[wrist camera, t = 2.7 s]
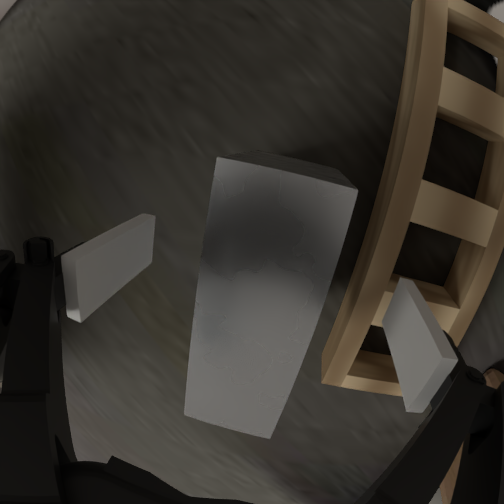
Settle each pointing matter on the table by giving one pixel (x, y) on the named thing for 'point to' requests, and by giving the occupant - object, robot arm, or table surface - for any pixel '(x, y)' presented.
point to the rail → (427, 196)
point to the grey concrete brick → (262, 284)
